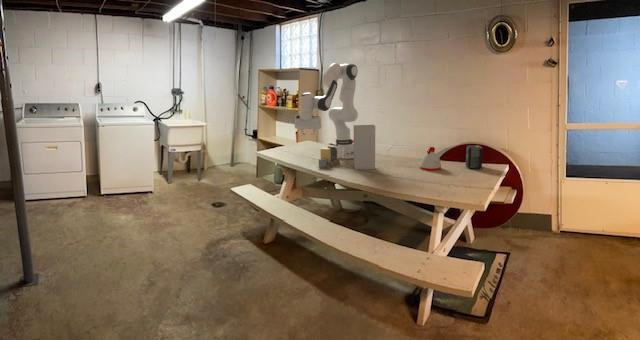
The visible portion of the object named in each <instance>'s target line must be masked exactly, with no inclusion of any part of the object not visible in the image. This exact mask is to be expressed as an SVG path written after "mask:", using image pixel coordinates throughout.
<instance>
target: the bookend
mask: <svg viewBox="0 0 640 340" xmlns="http://www.w3.org/2000/svg"><path fill="white" fill-rule="evenodd" d="M327 164H328V159H323V158H321V157H320V158H318V166H319V169H328V168H327Z"/></svg>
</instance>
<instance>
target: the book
mask: <svg viewBox="0 0 640 340" xmlns="http://www.w3.org/2000/svg"><path fill="white" fill-rule="evenodd" d="M320 158H323V159H328V163H330V162H331V153H330V148H328V147H321V148H320Z"/></svg>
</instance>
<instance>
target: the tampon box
mask: <svg viewBox="0 0 640 340" xmlns="http://www.w3.org/2000/svg"><path fill="white" fill-rule="evenodd" d="M483 150H484V147H482V146H481V145H477V144H476V145H470V144H469V145H466V151H465V165H466V166H465V167H466V169H468V168H479V169H478V170H482V169H483V152H484V151H483ZM480 168H481V169H480Z"/></svg>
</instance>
